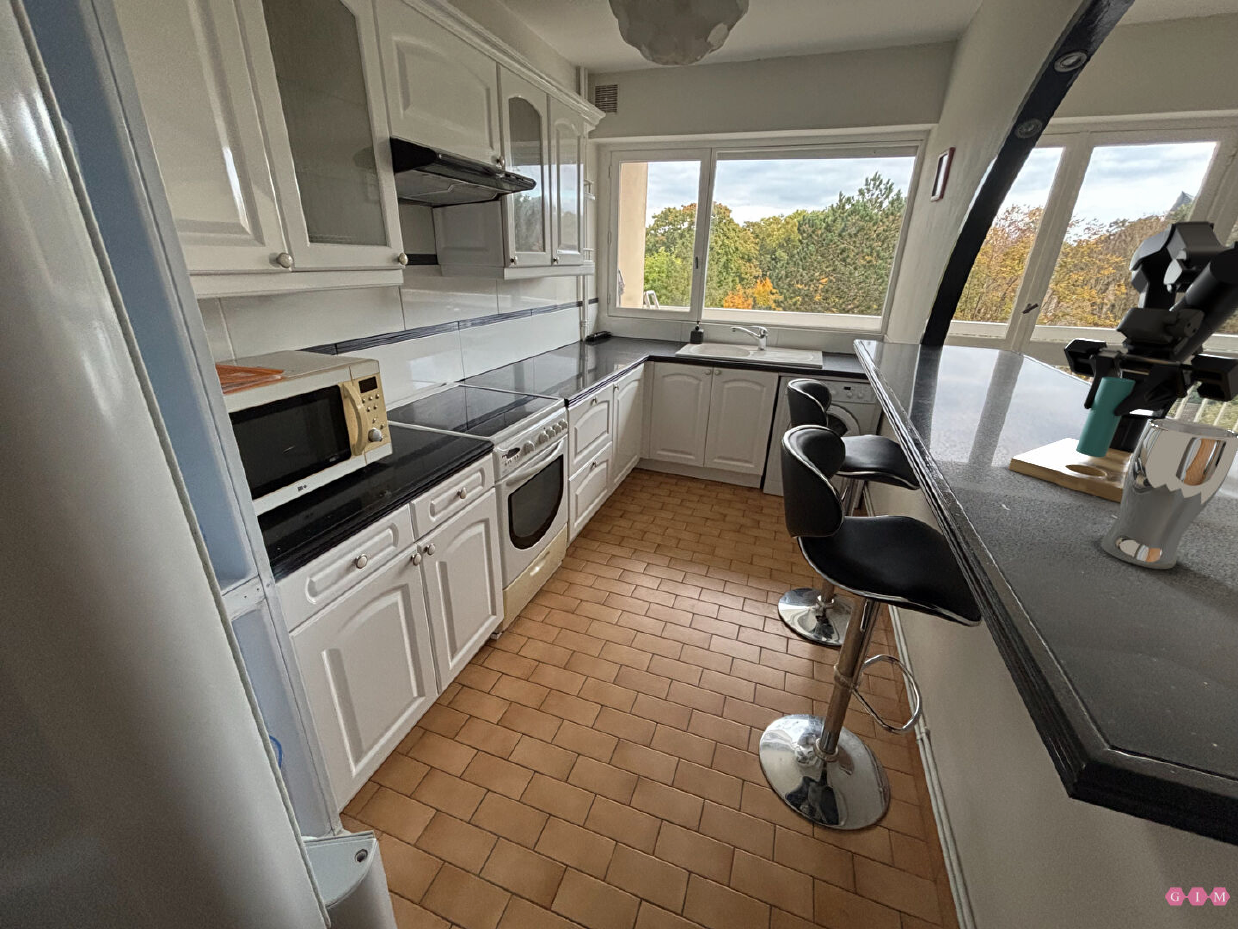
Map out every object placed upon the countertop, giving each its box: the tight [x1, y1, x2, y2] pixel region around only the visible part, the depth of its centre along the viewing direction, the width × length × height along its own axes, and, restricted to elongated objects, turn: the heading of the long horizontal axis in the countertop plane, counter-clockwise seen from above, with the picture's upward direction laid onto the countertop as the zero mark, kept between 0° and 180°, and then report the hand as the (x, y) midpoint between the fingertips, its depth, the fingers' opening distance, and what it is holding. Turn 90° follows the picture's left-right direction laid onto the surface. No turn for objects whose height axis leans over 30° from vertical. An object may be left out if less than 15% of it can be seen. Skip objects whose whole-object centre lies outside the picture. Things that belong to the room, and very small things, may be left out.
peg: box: [1075, 377, 1135, 457], centre depth 72 cm, size 3×3×11 cm
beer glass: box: [1100, 418, 1238, 570], centre depth 54 cm, size 7×7×15 cm
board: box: [1008, 438, 1133, 504], centre depth 79 cm, size 20×14×2 cm
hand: (1099, 410), depth 72 cm, fingers closed on peg, 3 cm apart
